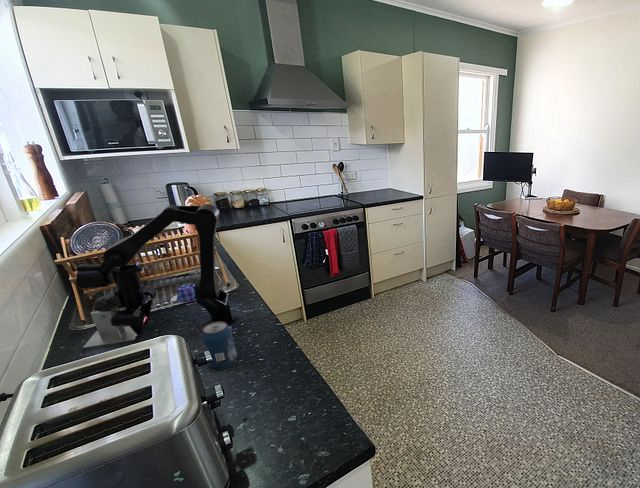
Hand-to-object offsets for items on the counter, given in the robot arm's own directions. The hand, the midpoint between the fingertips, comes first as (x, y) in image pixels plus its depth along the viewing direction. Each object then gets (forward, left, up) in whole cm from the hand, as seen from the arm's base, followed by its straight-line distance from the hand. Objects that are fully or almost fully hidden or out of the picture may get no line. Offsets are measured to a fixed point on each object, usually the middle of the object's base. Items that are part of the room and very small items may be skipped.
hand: (141, 329), depth 108 cm
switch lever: (+3, +3, +4) cm, 6 cm away
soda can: (-34, -2, -2) cm, 34 cm away
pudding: (+9, -21, -2) cm, 23 cm away
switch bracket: (+5, +5, -2) cm, 7 cm away
